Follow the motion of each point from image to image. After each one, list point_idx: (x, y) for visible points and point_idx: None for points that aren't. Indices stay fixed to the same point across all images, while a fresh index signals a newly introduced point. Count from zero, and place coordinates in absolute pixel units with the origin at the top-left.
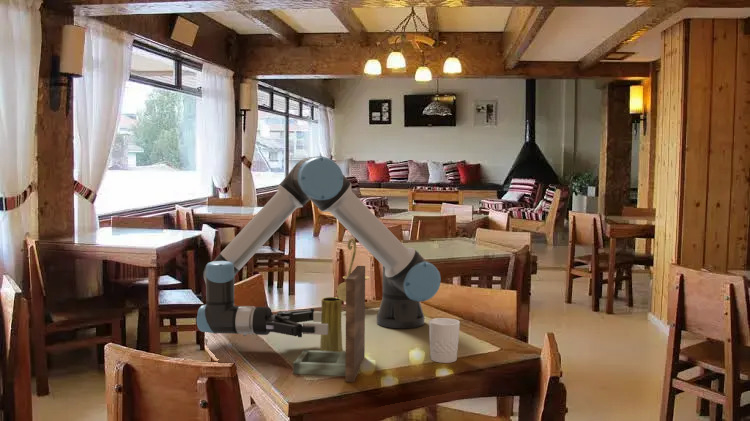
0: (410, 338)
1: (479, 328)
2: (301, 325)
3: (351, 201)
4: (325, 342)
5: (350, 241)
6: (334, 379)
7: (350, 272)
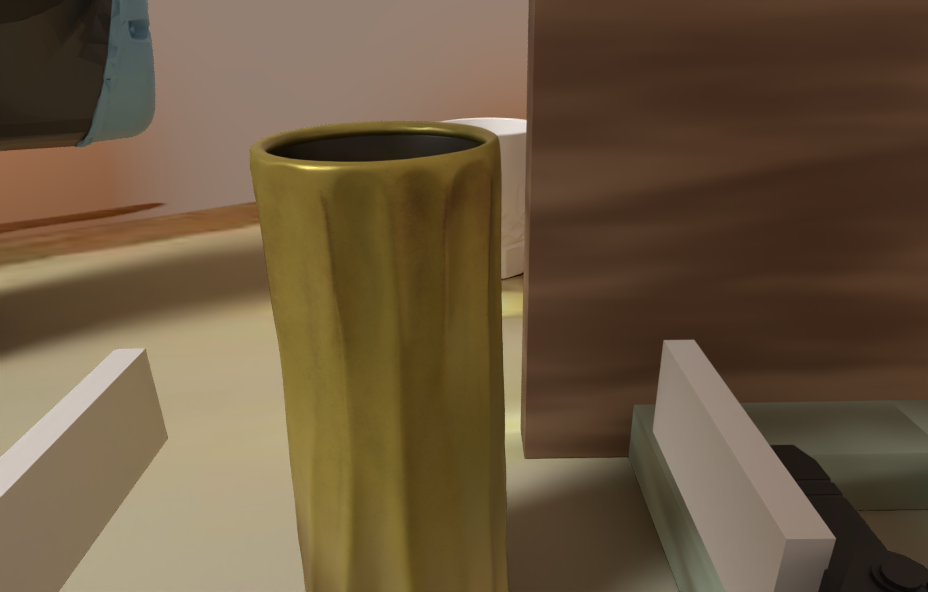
0: (164, 327)
1: (101, 228)
2: (892, 559)
3: None
4: (497, 571)
5: None
6: None
7: None
